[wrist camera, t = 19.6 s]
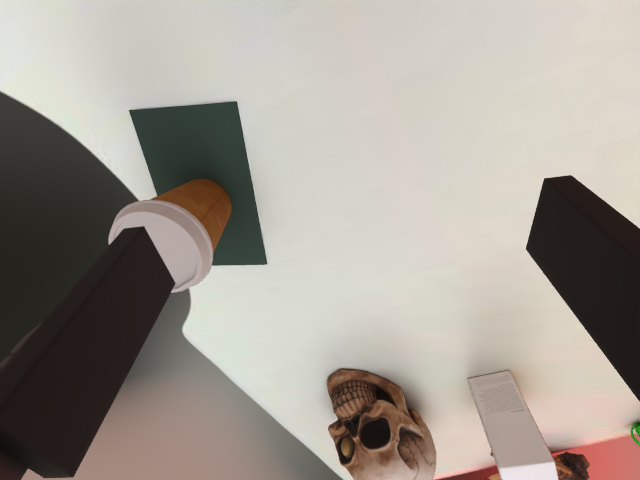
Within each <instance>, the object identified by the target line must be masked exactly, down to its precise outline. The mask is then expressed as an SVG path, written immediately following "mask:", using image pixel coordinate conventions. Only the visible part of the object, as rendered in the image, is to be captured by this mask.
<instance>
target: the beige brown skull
mask: <svg viewBox="0 0 640 480" xmlns="http://www.w3.org/2000/svg"><path fill="white" fill-rule="evenodd" d="M327 389H328V393H329V396H330V398H331V400H332V403H333V409H334V413H335V414H336V416H337V417H338V420H337V421H336V422H334V423H333V424H331V425H329V427H328V430H329V433H330V435H331V437H332V438H333V440H334V442H335V446H336V449H337V452H338V456H339V460H340V463H341V465H342V466H344V467H345V468H346V469H347V470H348V471H349V473H350V474H351V476H352V477H353V479H354V480H433V478H434V474H435V469H436V450H435V446H434V443H433V439H432V436H431V433H430V431H429V429H428V427H427V426H426V424H425V423H424V422H423V420H422V418H421V417H420V415H419V414H418V413H417V412H416V411H414V410H412V409H410V408H407V407H406V403H405V398H404V394H403V391H402V389H401V388H400V387H398V386H395V385H394V384H392V383H391V382H390V381H388V380H386V379H383V378H380V377H378V376H376V375H371V374H370V373H368V372H367V371H360V370H356V371H353V370H343V369H342V370H338V371H337V372H336V373H334V374H333V375H331V376H330V377H329V378H328V382H327Z"/></svg>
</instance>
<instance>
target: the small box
mask: <svg viewBox="0 0 640 480" xmlns="http://www.w3.org/2000/svg"><path fill="white" fill-rule="evenodd" d="M468 383H469V387H470V390H471V393H472V396H473V399H474V402H475V405H476V408H477V410H478V413H479V416H480V419H481V422H482V425H483V428H484V431H485V434H486V436H487V439H488V442H489V445H490V448H491V451H492V454H493V456H494V459H495V462H496V465H497V468H498V471H499V474H500V476H501V479H502V480H559V478H558V473H557V469H556V464H555V461H554V459H553V457H552V455H551V453H550V451H549V449H548V447H547V445H546V443H545V441H544V439H543V437H542V435H541V433H540V431H539V429H538V427H537V425H536V423H535V421H534V419H533V417H532V414H531V412H530V410H529V408H528V406H527V404H526V402H525V400H524V398H523V396H522V394H521V392H520V390H519V388H518V386H517V384H516V382H515V380H514V378H513V375H512V373H511V372H510V371H509V370H508V371H503V372H499V373H494V374H488V375H483V376H478V377H473V378H469V379H468Z"/></svg>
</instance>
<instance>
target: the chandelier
mask: <svg viewBox="0 0 640 480" xmlns="http://www.w3.org/2000/svg"><path fill="white" fill-rule="evenodd" d="M636 427H637V428H636ZM634 428H636V432H637V434H638V435H639V436H640V423H639V424H635V425H634V426H633V427H632V428H631V436H632V438H633V439H634V441H635V442H636V443H637V444H638V445H639V446H640V442H639V441H638V440H637V439H636V438H635V437H634V435H633V429H634Z"/></svg>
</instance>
